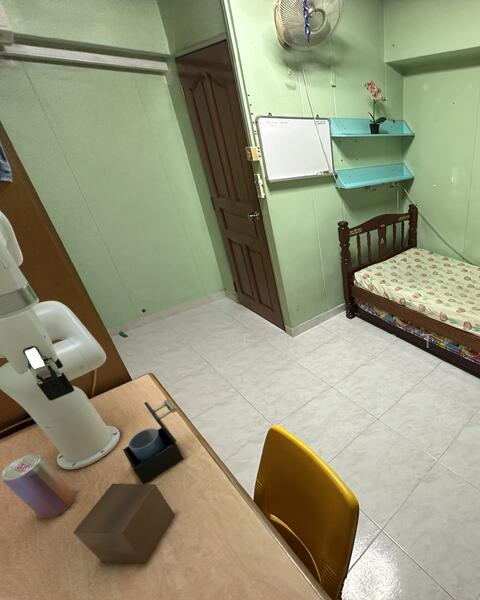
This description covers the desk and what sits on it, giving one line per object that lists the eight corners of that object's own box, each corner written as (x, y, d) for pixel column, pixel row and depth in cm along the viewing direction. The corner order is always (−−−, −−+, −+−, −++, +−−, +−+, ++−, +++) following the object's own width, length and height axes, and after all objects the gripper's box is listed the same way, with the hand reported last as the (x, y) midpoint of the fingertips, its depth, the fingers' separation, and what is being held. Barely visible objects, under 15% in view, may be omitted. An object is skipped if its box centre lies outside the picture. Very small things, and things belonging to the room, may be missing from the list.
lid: (155, 420, 74) (176, 407, 76) (143, 403, 78) (163, 391, 81) (174, 443, 79) (192, 430, 82) (162, 425, 83) (180, 414, 86)
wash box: (143, 485, 76) (133, 469, 73) (133, 465, 81) (122, 449, 78) (184, 458, 83) (175, 443, 79) (172, 441, 87) (163, 425, 84)
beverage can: (53, 522, 69) (13, 483, 62) (32, 516, 70) (-9, 477, 63) (82, 495, 74) (49, 456, 67) (62, 489, 75) (27, 450, 68)
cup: (137, 466, 80) (122, 443, 76) (161, 447, 85) (148, 424, 80) (152, 475, 78) (138, 453, 74) (175, 455, 83) (163, 433, 78)
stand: (102, 562, 63) (72, 532, 57) (135, 513, 71) (112, 483, 65) (146, 563, 63) (121, 533, 57) (174, 514, 71) (155, 484, 65)
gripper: (-41, 292, 50) (20, 372, 59) (-37, 332, 41) (35, 420, 49) (26, 277, 55) (74, 352, 64) (43, 309, 46) (96, 393, 55)
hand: (57, 382), depth 57 cm, fingers open, 9 cm apart
